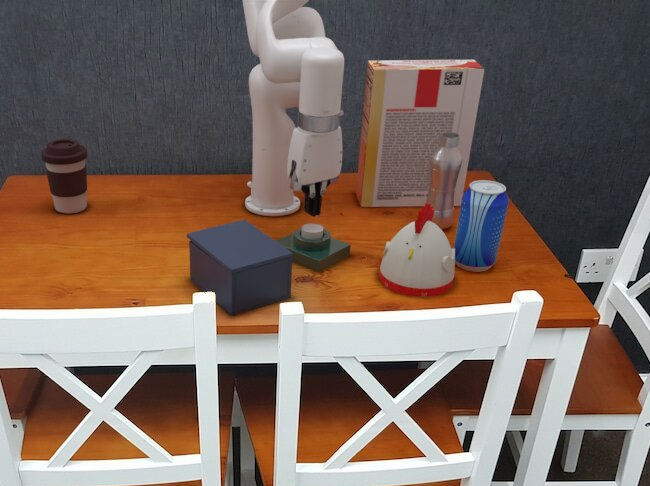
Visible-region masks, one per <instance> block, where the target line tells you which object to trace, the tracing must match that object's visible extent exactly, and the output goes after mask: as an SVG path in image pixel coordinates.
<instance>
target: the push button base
mask: <svg viewBox="0 0 650 486" xmlns="http://www.w3.org/2000/svg"><path fill="white" fill-rule="evenodd" d="M301 229H302V227H300V228H297V229H295V230H294V232H292V233H290V234H288V235H285V236H283V237H281V238H279V239H277V240H275V241H276V242H278V243H279V244H280V245H282V246H283V247H285V248H286V249H288V250H289V251H290V252H292V253H293V254H292V263H295V264H298V265H300V266H302V267H304V268H305V267H306V268H307V269H310V270H313V271H315V272H318V273H319V272H322V271H323V270H325V269H327V268H329V267H331V266H333V265H335V264H337V263H338V262H340V261H342V260H344V259H346V258H348V257H350V256H351V244H350V243H348V242H345V241H343V240H340V239H337V238H334V237H332V234H331V232H330V231H329V229H326V228H324V232H323V238H321V239H316V240H311V239H306V238H303V237H301Z"/></svg>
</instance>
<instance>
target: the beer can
mask: <svg viewBox="0 0 650 486" xmlns="http://www.w3.org/2000/svg"><path fill="white" fill-rule="evenodd" d="M509 199H510V198H509V197H508V194H507V187H506V186H505V184H503V183H500V182H499V181H495V180H489V179H488V180H487V179H479V180H474V181H472V182H470V183H469V187H468V188H467V189H466V190H465V191H464V192H463V197H462V202H461V206H460V209H459V215H458V220H457V226H456V232H455V238H454V243H453V244H454V245H453V248H455V266H456V267H458V268H460V269H462V270H465V271H468V272H475V273H480V272H486V271H488V270H490V269H491V268H492V266H494V265H495V264H496V263H497V260H498V255H499V250H500V245H501V241H502V235H503V231H504V226H505V222H506V216H507V211H508V208H509V203H510V200H509Z"/></svg>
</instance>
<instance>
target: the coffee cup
mask: <svg viewBox="0 0 650 486" xmlns="http://www.w3.org/2000/svg"><path fill="white" fill-rule="evenodd" d="M40 157H41V160H42V161H43V162H44V163H45V173H46V177H47V178H46V179H47V182H48V187H49V190H50V194H51V196H52V201H53V205H54V209H55V210H56V211H57V212H58V213H61V214H67V215H68V214H69V215H70V214H77V213H80V212H83V211H85V210H86V209H87V207H88V198H87V191H88V176H87V175H88V174H87V164H86V159H87V158H88V149H87V147H86V146H84V145H83V144H80V142H79V141H78V140H77V139H73V138H58V139H54V140H51V141H49V142H48V143H47V145H46V147H43V149H41V151H40Z"/></svg>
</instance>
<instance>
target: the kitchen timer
mask: <svg viewBox="0 0 650 486" xmlns="http://www.w3.org/2000/svg"><path fill="white" fill-rule="evenodd" d="M421 207H422V208H421V210H418V214H417V219H414V221H411V222H410V223H408V224H406V225H405V226H403V227H402V228H401V229H400V230H399V231H398V232H397V233H396V234H395V235H394V236H393V237H392V238H391V240H389V241H386V243H385V247H384V250H383V253H382V259H381V262H380V267H379V271H378V272H379V273H378V276H379V281H380V282H381V283H382V285H383V286H384V287H385V288H387V289H389V290H390V291H393V292H394V293H397V294H402V295H405V296H410V297H417V298H420V297H421V298H422V297H423V298H424V297H425V298H426V297H434V296H440V295H442V294H445V293H447V292H449V290H450V289H452V287H453V285H454V280H455V266H456V263H455V248H454V247H452V246H451V244H450V241H449V239H448V237H447V235H446V234H445V232H444V231H443V229H440V228H439V227H438V226H437V225H436V224H435V223H433V222H432V219H433V215H434V211H435V210H432V209H433V207H431V204H428V203H426V204H425V206H421Z"/></svg>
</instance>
